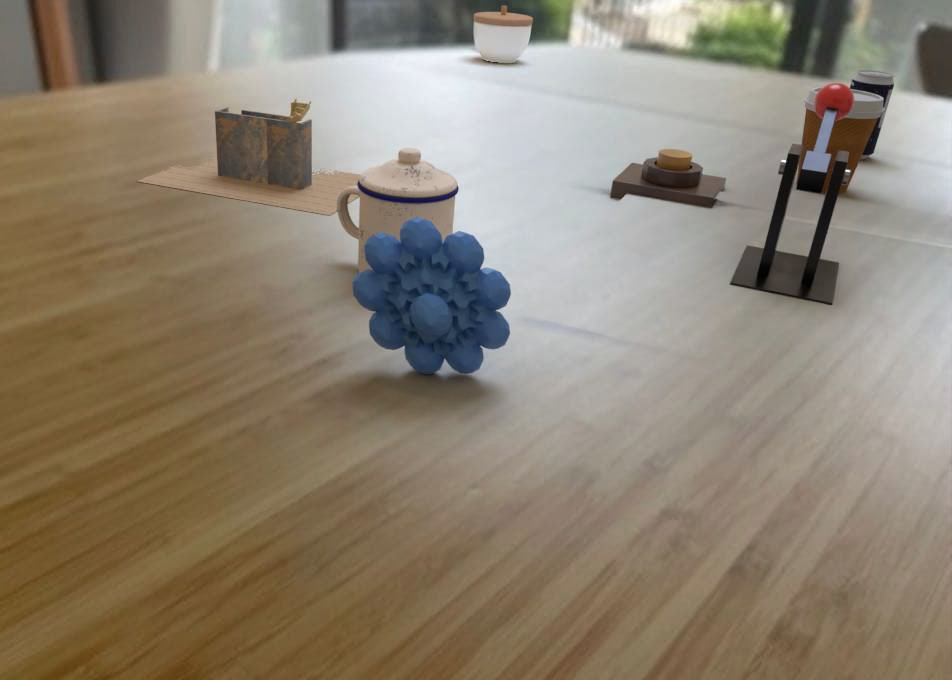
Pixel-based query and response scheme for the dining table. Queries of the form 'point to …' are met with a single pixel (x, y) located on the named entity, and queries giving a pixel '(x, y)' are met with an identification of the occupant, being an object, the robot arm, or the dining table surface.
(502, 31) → the lidded bowl
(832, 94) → the power lever
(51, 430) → the dining table surface
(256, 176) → the architectural model on board
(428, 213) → the teacup with lid
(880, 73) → the beverage can
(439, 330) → the blue flower ornament
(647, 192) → the brown lamp base
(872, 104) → the disposable coffee cup
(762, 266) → the stand
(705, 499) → the dining table surface
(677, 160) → the button
